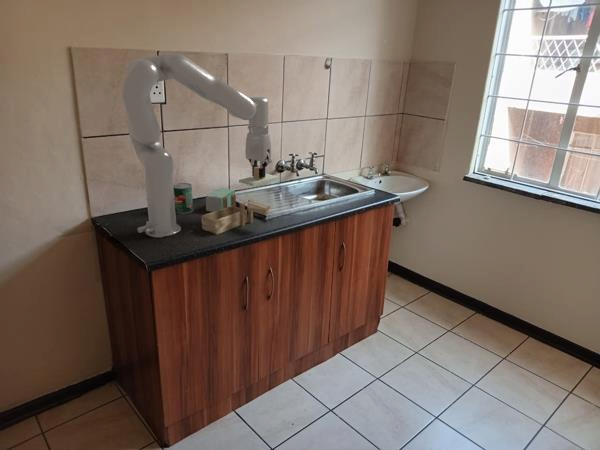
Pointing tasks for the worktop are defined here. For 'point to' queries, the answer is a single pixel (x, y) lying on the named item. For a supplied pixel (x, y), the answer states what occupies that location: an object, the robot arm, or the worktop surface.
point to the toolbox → (227, 217)
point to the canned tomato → (183, 198)
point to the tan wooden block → (258, 208)
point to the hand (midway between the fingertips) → (258, 176)
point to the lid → (256, 180)
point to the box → (218, 199)
